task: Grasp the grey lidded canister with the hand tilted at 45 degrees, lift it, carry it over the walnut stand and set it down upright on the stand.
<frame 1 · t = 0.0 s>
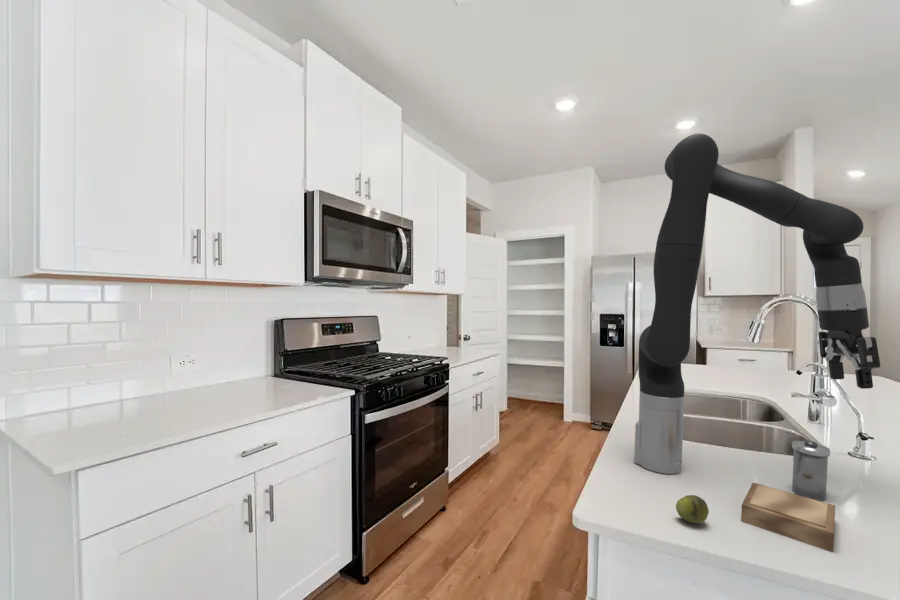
hand: (850, 383, 85), 22 cm above the counter, tool pointing down, fingers open, 8 cm apart
grey lidded canister: (808, 494, 83), on the counter
lime: (692, 524, 72), on the counter
stand: (787, 521, 73), on the counter
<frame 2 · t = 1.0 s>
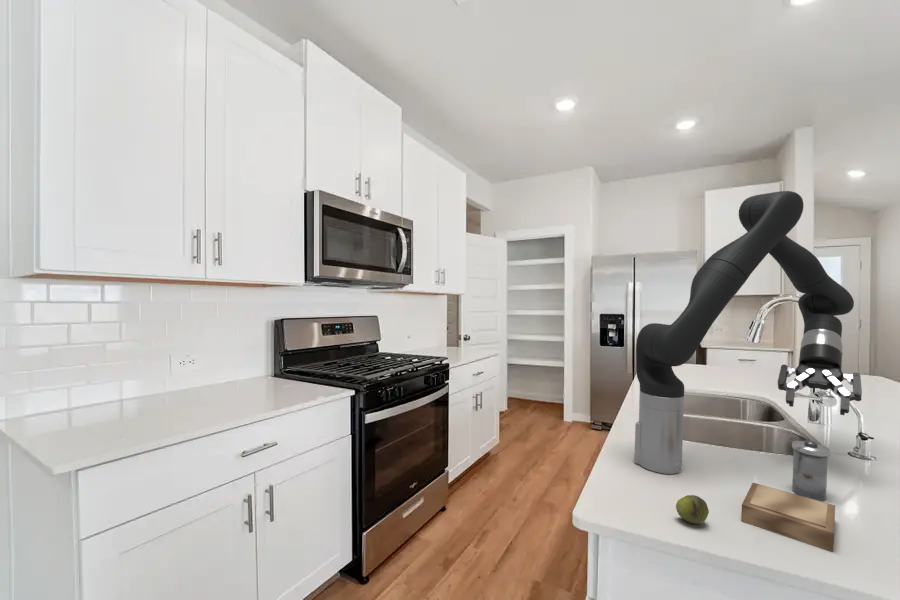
hand: (815, 408, 91), 15 cm above the counter, tool tilted 45°, fingers open, 8 cm apart
nothing on the counter moved.
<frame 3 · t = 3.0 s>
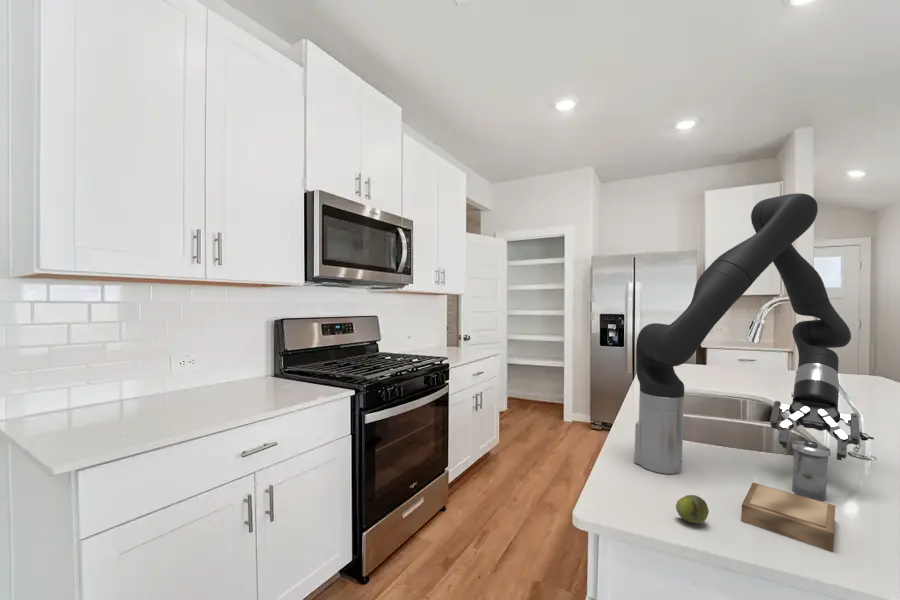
hand: (810, 452, 85), 8 cm above the counter, tool tilted 45°, fingers open, 8 cm apart
nothing on the counter moved.
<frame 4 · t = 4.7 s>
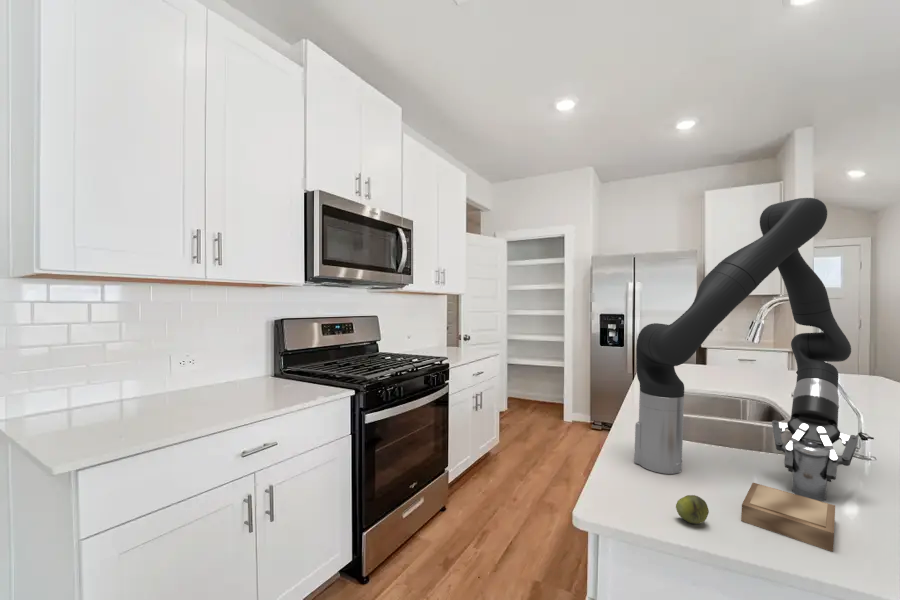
hand: (809, 474, 82), 5 cm above the counter, tool tilted 45°, fingers closed on grey lidded canister, 5 cm apart
grey lidded canister: (808, 494, 83), on the counter, touching gripper
everything else where it was.
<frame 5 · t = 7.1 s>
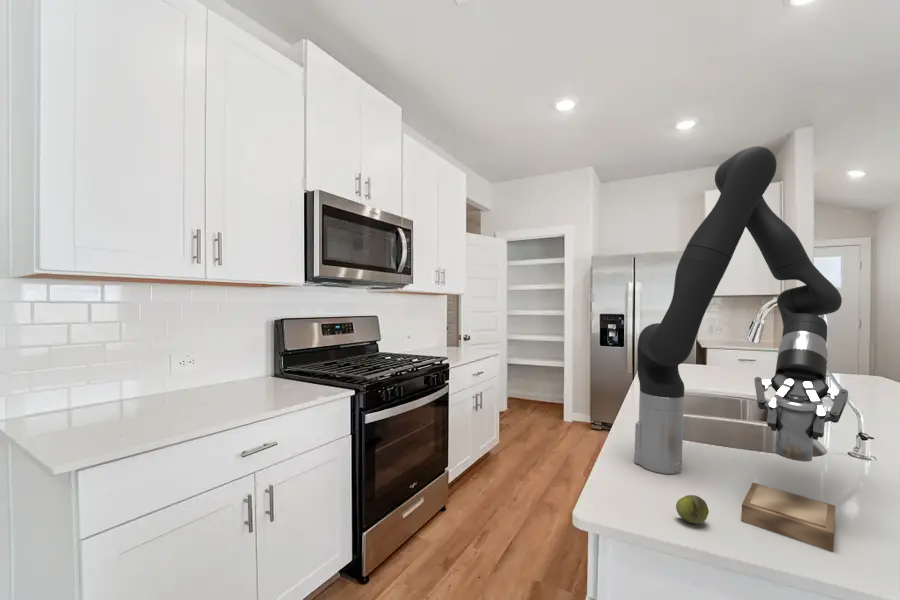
hand: (794, 432, 73), 16 cm above the counter, tool tilted 45°, fingers closed on grey lidded canister, 5 cm apart
grey lidded canister: (793, 455, 75), point 11 cm above the counter, touching gripper
everything else where it was.
when the fingers open (9 cm above the counter, at t = 9.5 s): grey lidded canister stays where it is, resting on stand.
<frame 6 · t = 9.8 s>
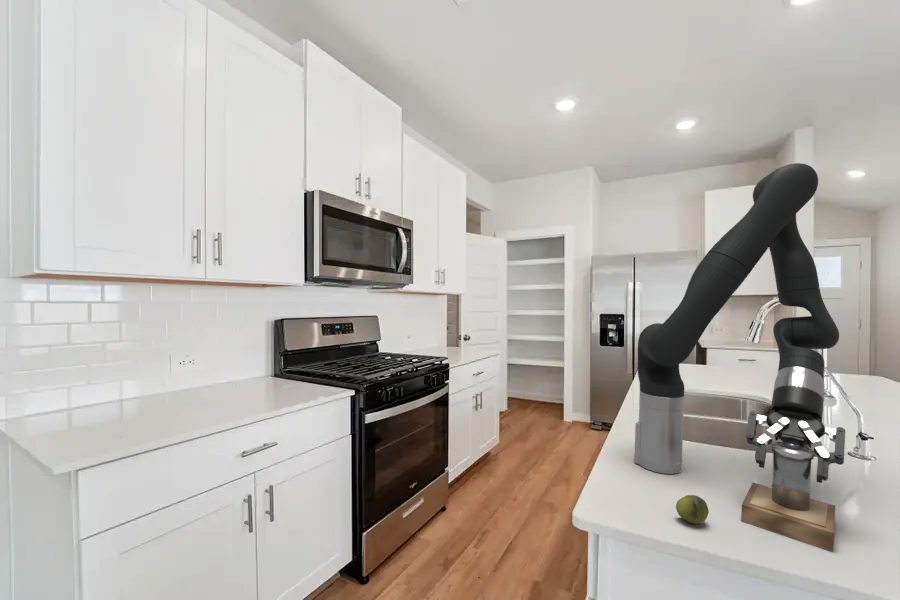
hand: (789, 472, 72), 9 cm above the counter, tool tilted 45°, fingers open, 7 cm apart
grey lidded canister: (790, 503, 73), point 3 cm above the counter, touching stand
everything else where it was.
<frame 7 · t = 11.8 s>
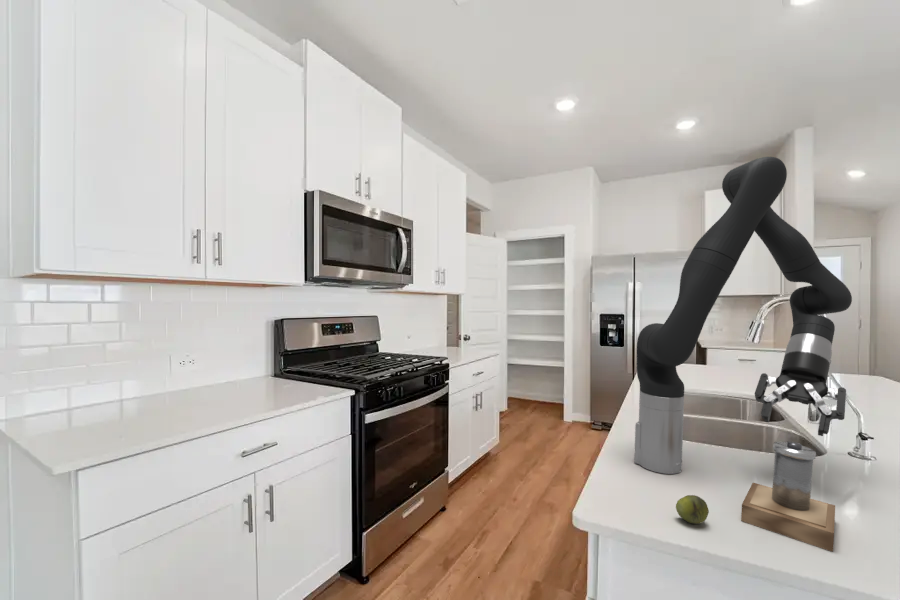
hand: (792, 427, 83), 14 cm above the counter, tool tilted 35°, fingers open, 8 cm apart
nothing on the counter moved.
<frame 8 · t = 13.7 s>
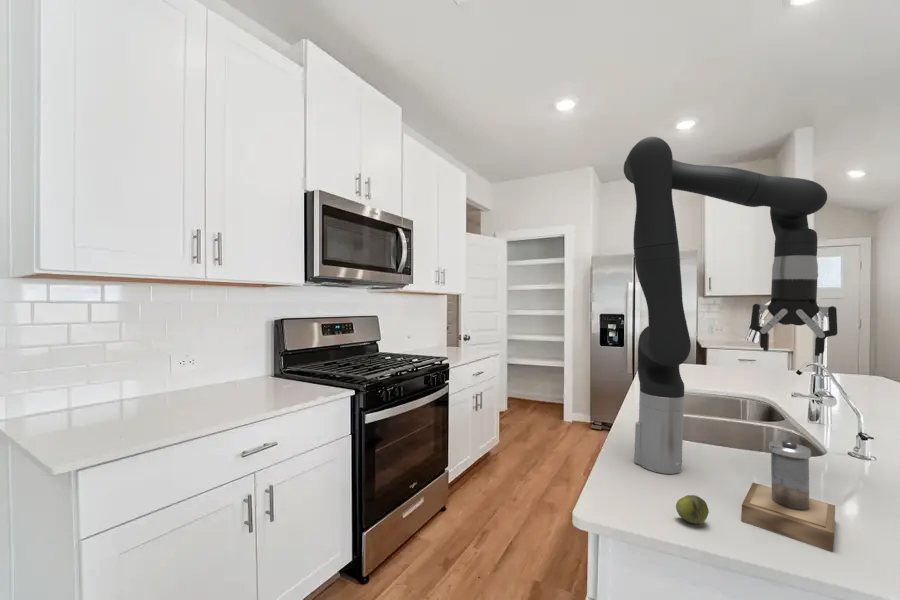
hand: (790, 353, 88), 28 cm above the counter, tool pointing down, fingers open, 8 cm apart
nothing on the counter moved.
at the end: grey lidded canister inside the target area on the stand (0.4 cm from its centre), point 3.4 cm above the stand's base; grey lidded canister tilted 3°; the gripper is holding nothing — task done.
